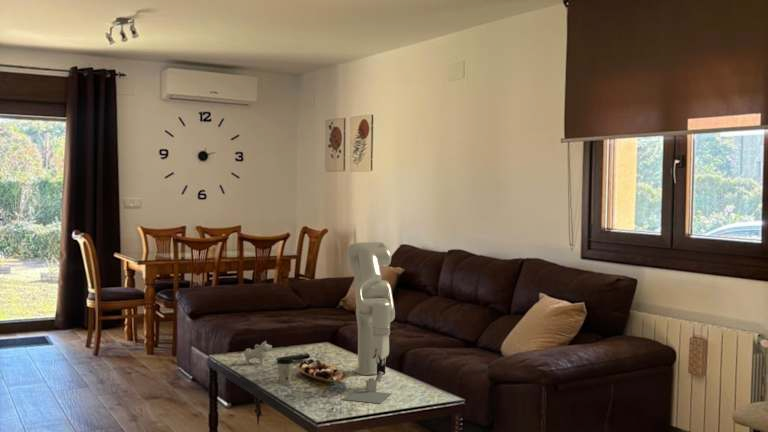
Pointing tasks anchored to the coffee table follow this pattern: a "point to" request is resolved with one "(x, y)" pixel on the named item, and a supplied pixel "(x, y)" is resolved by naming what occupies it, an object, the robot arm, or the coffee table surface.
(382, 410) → the coffee table surface
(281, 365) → the coffee cup
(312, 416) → the coffee table surface
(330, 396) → the coffee table surface
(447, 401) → the coffee table surface
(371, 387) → the lighter
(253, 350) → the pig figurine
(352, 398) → the mat
